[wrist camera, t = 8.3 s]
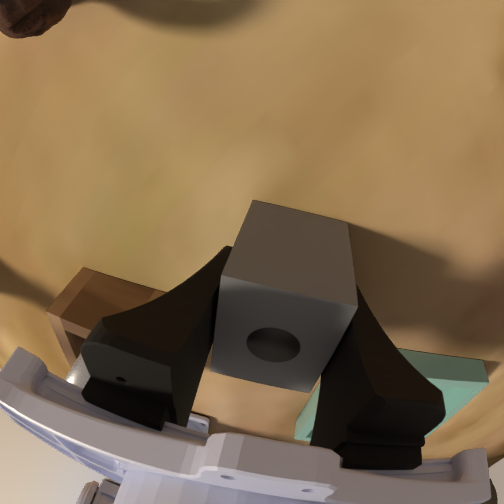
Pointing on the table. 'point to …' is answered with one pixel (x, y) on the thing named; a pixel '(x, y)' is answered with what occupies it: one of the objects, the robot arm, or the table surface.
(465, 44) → the table surface
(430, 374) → the teal tray
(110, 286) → the walnut block
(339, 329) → the gray block
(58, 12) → the pottery mug
